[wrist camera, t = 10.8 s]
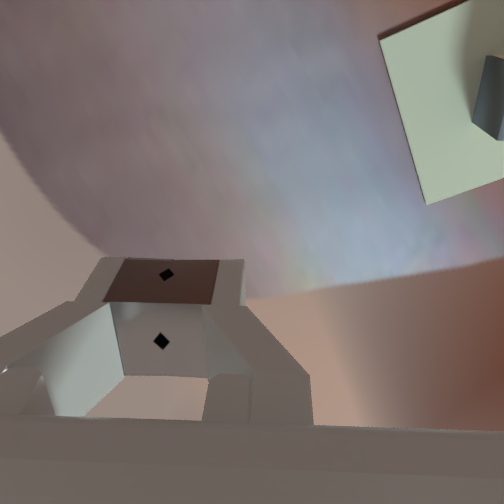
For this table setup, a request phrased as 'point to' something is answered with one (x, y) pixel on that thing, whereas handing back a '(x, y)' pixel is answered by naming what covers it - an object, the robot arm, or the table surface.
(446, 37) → the mat
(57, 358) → the robot arm
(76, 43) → the table surface
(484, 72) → the block
